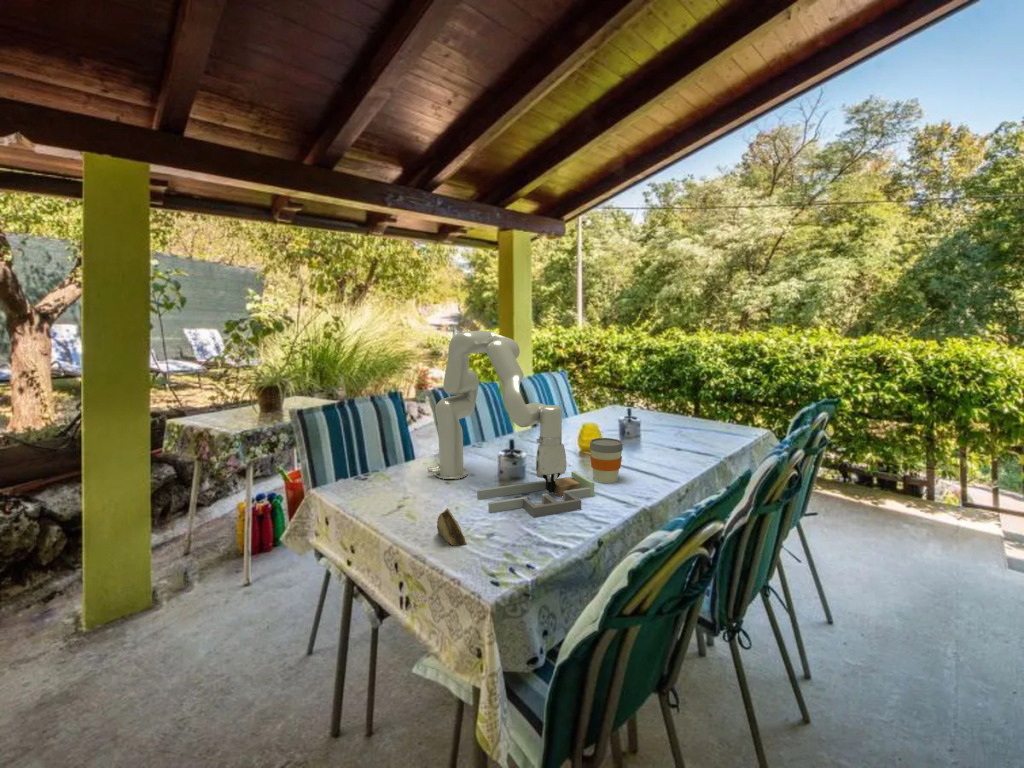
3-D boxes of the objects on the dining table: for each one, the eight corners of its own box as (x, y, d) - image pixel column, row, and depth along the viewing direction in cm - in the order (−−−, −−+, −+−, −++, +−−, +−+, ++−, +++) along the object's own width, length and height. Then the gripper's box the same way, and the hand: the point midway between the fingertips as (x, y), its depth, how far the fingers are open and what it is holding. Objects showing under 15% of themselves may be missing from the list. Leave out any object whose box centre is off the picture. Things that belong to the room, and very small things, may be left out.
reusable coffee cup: (623, 476, 187) (624, 439, 186) (620, 486, 176) (621, 447, 174) (592, 473, 192) (592, 436, 190) (586, 482, 180) (586, 444, 178)
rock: (428, 524, 138) (426, 534, 128) (445, 500, 139) (444, 508, 129) (458, 545, 139) (458, 556, 129) (475, 520, 140) (477, 530, 130)
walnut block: (560, 497, 165) (560, 486, 165) (549, 490, 172) (549, 480, 172) (579, 494, 169) (580, 483, 168) (567, 487, 176) (567, 476, 175)
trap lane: (498, 523, 144) (498, 507, 143) (477, 498, 165) (476, 484, 164) (607, 504, 158) (607, 490, 157) (574, 483, 179) (574, 471, 178)
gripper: (535, 445, 159) (535, 498, 161) (575, 441, 164) (574, 492, 166) (526, 440, 166) (527, 490, 168) (564, 436, 171) (564, 485, 173)
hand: (550, 491), depth 167 cm, fingers closed
